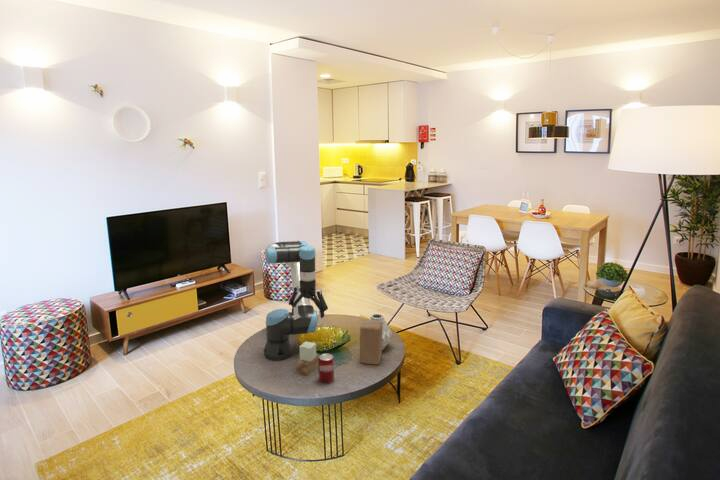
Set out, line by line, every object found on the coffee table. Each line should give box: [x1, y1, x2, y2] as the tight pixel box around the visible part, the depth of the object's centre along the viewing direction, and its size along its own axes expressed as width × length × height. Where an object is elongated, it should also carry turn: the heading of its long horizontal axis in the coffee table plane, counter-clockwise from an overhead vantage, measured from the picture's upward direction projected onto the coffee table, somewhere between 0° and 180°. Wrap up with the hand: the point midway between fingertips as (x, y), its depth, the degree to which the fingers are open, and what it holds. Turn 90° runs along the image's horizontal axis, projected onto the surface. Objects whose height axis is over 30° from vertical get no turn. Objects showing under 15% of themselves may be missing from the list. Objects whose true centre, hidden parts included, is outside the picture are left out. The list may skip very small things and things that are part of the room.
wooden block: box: [359, 319, 383, 366], centre depth 236 cm, size 10×10×20 cm
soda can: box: [317, 353, 335, 385], centre depth 217 cm, size 7×7×12 cm
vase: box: [368, 313, 393, 351], centre depth 250 cm, size 16×16×18 cm
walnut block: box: [297, 352, 320, 377], centre depth 228 cm, size 5×12×6 cm, turn 157°
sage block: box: [298, 341, 317, 362], centre depth 227 cm, size 6×6×7 cm
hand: (308, 321), depth 223 cm, fingers open, 13 cm apart
